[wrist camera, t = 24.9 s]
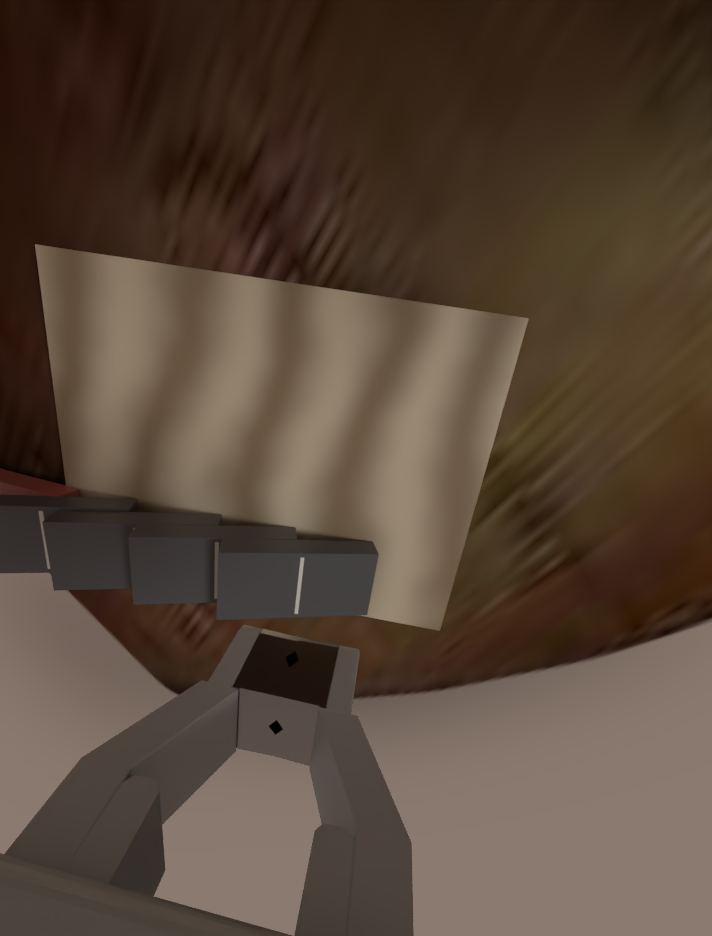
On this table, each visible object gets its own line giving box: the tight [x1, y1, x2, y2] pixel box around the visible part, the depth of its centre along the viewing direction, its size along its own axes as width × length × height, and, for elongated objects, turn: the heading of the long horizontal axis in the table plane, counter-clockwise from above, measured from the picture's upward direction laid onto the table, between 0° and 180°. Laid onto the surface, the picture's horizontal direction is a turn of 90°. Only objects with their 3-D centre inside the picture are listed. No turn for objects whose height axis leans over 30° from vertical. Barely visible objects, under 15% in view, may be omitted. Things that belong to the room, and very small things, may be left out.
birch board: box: [35, 244, 529, 631], centre depth 23 cm, size 29×22×1 cm
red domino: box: [0, 468, 80, 497], centre depth 26 cm, size 2×5×10 cm
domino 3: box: [128, 524, 297, 605], centre depth 23 cm, size 2×5×10 cm
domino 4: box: [217, 538, 379, 620], centre depth 23 cm, size 2×5×10 cm
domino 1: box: [0, 494, 138, 573], centre depth 23 cm, size 2×5×10 cm
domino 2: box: [42, 510, 222, 590], centre depth 23 cm, size 2×5×10 cm
